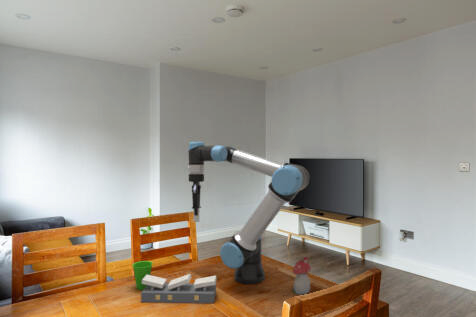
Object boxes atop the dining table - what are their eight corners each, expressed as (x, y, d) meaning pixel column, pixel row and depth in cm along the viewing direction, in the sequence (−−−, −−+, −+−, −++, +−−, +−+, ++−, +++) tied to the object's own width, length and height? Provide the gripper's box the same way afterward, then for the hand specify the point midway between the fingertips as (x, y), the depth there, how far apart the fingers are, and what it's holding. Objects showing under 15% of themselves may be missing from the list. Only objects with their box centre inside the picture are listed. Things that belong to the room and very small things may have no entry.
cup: (146, 293, 138) (146, 268, 138) (128, 291, 140) (128, 266, 140) (156, 284, 147) (156, 261, 147) (138, 283, 149) (138, 260, 149)
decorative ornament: (306, 287, 144) (306, 254, 144) (315, 293, 138) (315, 259, 138) (288, 291, 140) (289, 257, 140) (297, 297, 134) (297, 262, 134)
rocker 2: (191, 277, 137) (190, 273, 137) (189, 282, 131) (187, 279, 131) (172, 283, 137) (171, 280, 137) (168, 289, 131) (167, 286, 131)
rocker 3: (216, 279, 136) (216, 275, 136) (215, 284, 130) (214, 280, 130) (196, 282, 137) (195, 279, 137) (194, 288, 131) (193, 284, 131)
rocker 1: (165, 282, 137) (166, 279, 137) (162, 288, 131) (163, 284, 131) (145, 277, 137) (146, 274, 137) (141, 283, 131) (142, 279, 131)
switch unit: (215, 292, 138) (215, 280, 138) (213, 303, 128) (213, 290, 128) (148, 291, 139) (148, 279, 139) (140, 302, 129) (140, 289, 129)
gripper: (190, 172, 160) (191, 219, 160) (186, 174, 147) (186, 224, 147) (205, 172, 160) (205, 219, 160) (202, 174, 147) (202, 224, 147)
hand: (196, 221), depth 153 cm, fingers closed
